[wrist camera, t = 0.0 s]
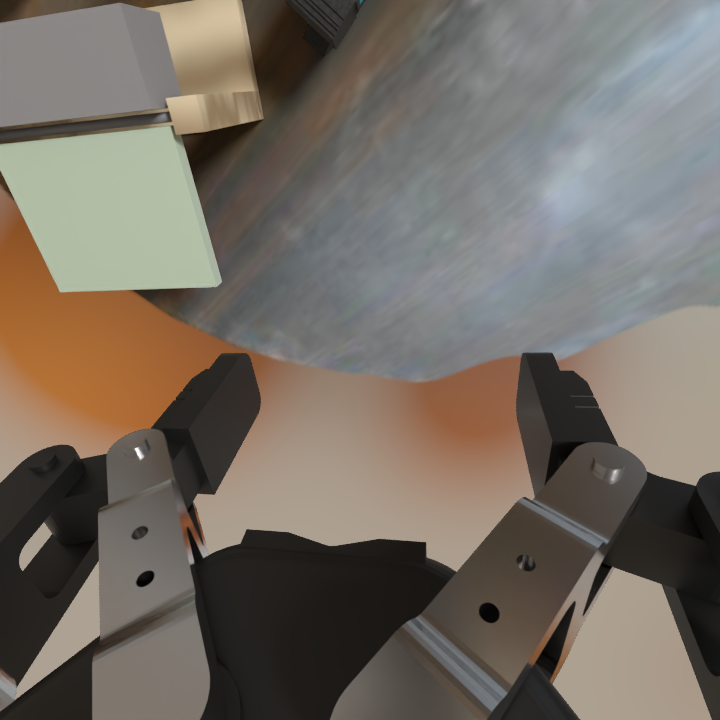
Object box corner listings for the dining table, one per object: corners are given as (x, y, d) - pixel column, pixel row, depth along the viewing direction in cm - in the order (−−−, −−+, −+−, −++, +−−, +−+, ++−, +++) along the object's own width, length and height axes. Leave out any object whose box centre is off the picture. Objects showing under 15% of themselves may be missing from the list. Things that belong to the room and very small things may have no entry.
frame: (23, 31, 36) (-121, 14, 27) (240, -5, 32) (162, -38, 23) (67, 139, 40) (-44, 157, 31) (263, 118, 36) (205, 131, 27)
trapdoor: (-33, 43, 29) (-93, 38, 26) (163, 11, 27) (124, 2, 23) (78, 280, 38) (43, 299, 35) (233, 274, 36) (211, 294, 32)
